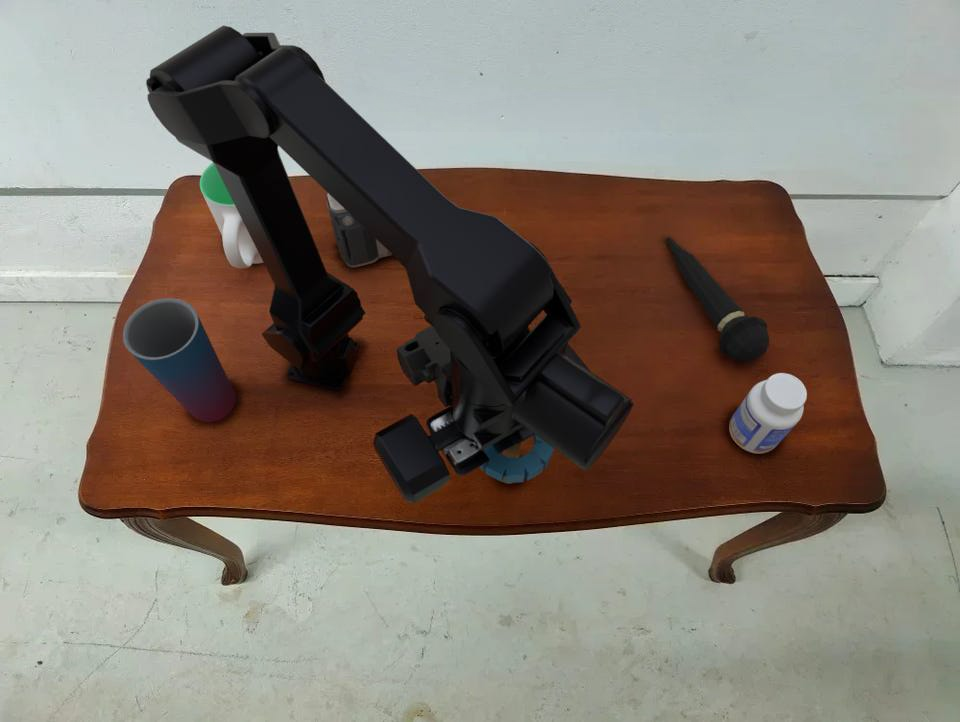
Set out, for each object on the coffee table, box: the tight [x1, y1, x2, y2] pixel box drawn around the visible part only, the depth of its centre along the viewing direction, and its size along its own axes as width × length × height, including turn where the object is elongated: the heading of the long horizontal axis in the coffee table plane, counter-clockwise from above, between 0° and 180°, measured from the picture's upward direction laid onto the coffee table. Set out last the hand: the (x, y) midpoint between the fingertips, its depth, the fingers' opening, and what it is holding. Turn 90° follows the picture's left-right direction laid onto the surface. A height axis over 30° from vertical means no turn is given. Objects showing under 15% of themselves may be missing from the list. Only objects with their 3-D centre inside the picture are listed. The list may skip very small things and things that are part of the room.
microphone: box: [665, 237, 770, 363], centre depth 84 cm, size 6×6×20 cm
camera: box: [325, 192, 393, 269], centre depth 85 cm, size 11×6×10 cm, turn 106°
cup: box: [122, 297, 237, 423], centre depth 71 cm, size 7×7×15 cm
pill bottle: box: [728, 372, 808, 455], centre depth 73 cm, size 5×5×10 cm
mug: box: [199, 162, 264, 269], centre depth 84 cm, size 12×8×10 cm
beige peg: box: [502, 442, 522, 484], centre depth 70 cm, size 3×3×10 cm
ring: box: [479, 435, 555, 484], centre depth 67 cm, size 8×8×2 cm
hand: (485, 454), depth 66 cm, fingers closed on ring, 2 cm apart
